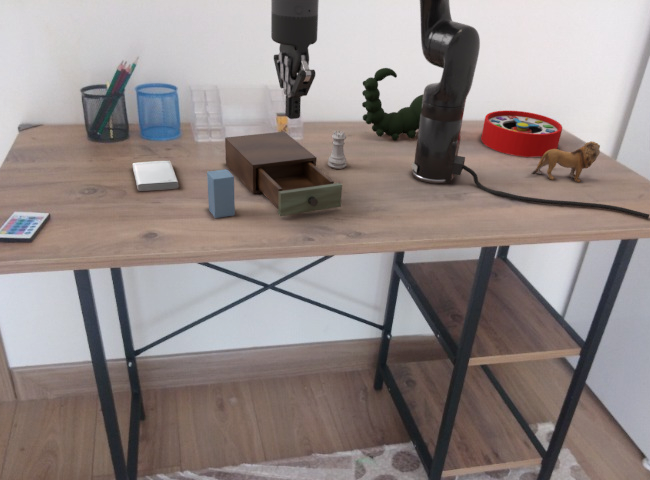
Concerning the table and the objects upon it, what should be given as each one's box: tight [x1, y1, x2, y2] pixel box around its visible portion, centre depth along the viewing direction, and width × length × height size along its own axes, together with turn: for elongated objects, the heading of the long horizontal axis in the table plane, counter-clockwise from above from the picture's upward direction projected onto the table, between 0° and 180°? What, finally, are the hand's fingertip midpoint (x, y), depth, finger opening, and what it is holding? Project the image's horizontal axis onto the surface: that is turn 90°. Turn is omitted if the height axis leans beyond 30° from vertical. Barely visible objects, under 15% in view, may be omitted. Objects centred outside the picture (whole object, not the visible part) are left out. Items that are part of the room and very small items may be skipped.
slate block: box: [206, 168, 236, 219], centre depth 124 cm, size 4×4×8 cm
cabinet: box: [224, 131, 317, 195], centre depth 142 cm, size 17×14×6 cm
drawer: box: [256, 161, 343, 217], centre depth 132 cm, size 18×13×5 cm
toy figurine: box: [361, 67, 423, 141], centre depth 167 cm, size 9×19×25 cm
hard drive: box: [132, 160, 179, 192], centre depth 138 cm, size 2×8×12 cm
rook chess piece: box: [327, 130, 347, 170], centre depth 149 cm, size 4×4×8 cm
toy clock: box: [480, 110, 563, 158], centre depth 171 cm, size 20×6×20 cm
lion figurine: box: [531, 140, 601, 183], centre depth 151 cm, size 15×5×9 cm, turn 92°
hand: (292, 117), depth 113 cm, fingers closed
